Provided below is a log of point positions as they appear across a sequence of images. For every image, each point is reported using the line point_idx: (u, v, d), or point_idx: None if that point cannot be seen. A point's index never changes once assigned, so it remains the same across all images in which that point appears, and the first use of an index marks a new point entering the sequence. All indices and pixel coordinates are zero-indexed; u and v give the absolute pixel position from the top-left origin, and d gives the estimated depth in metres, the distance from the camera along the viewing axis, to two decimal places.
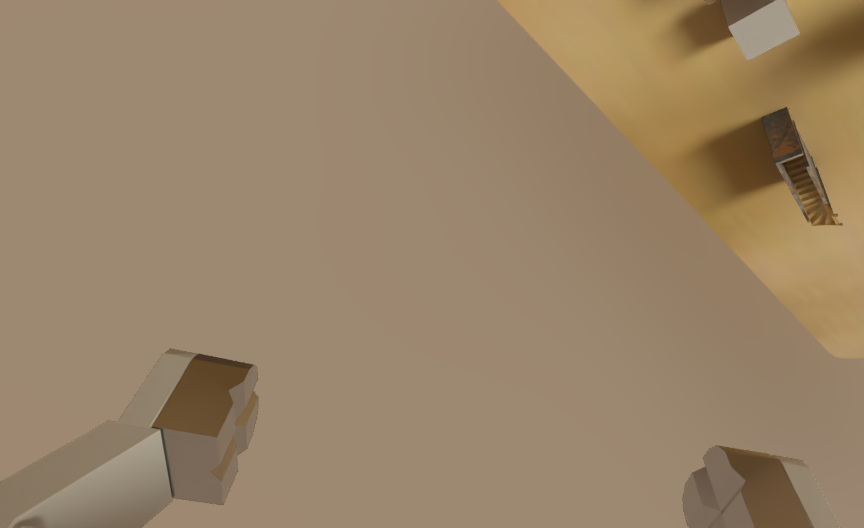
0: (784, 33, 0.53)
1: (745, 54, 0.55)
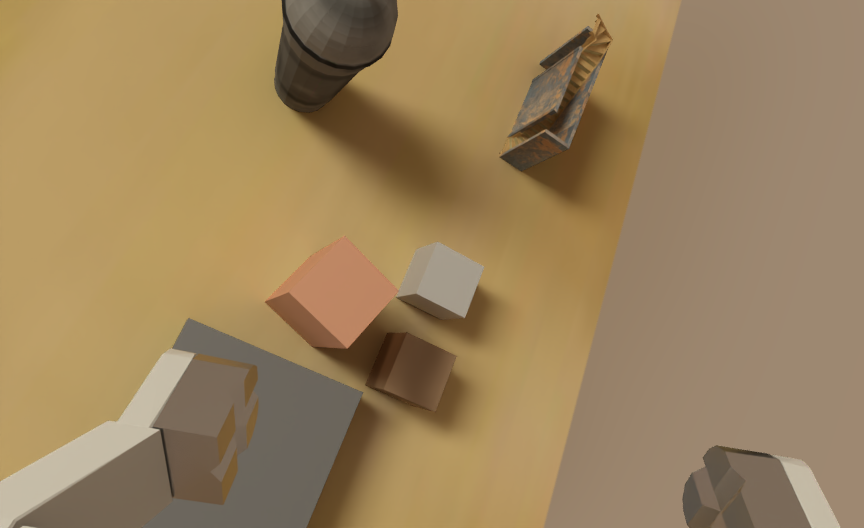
0: (444, 256, 0.46)
1: (479, 275, 0.47)
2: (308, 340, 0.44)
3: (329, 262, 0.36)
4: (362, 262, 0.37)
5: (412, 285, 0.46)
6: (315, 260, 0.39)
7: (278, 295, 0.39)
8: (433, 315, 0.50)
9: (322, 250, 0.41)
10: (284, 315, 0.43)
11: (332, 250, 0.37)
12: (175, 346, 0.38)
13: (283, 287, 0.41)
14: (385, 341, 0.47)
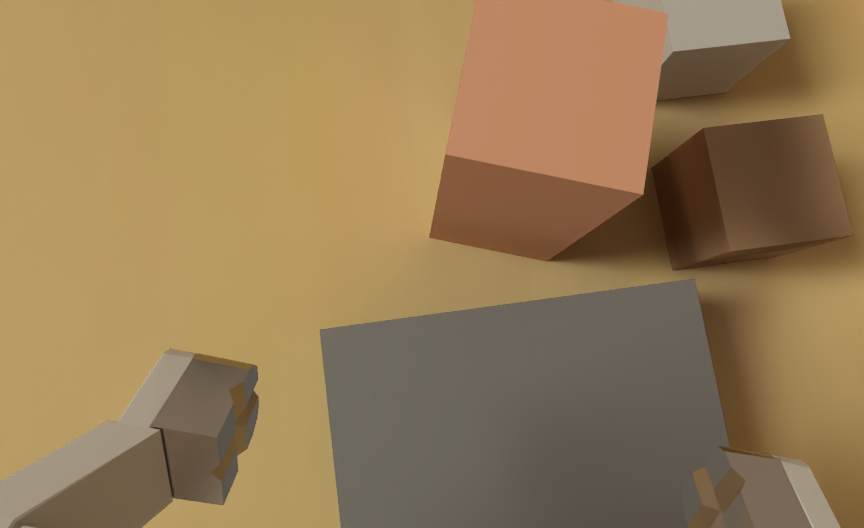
0: None
1: None
2: (536, 253, 0.23)
3: (486, 45, 0.15)
4: (553, 4, 0.15)
5: None
6: None
7: None
8: (708, 93, 0.26)
9: None
10: (472, 235, 0.22)
11: (477, 18, 0.15)
12: (328, 388, 0.19)
13: None
14: (659, 181, 0.25)
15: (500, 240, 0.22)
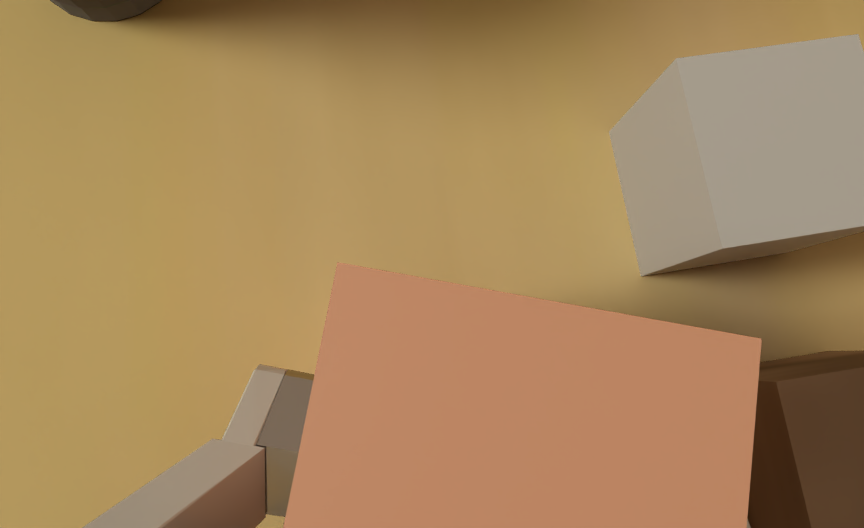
0: (725, 87, 0.13)
1: (862, 65, 0.14)
2: None
3: (345, 440, 0.06)
4: (502, 327, 0.07)
5: (679, 227, 0.15)
6: None
7: None
8: (761, 256, 0.17)
9: None
10: None
11: (324, 372, 0.07)
12: None
13: None
14: None
15: None
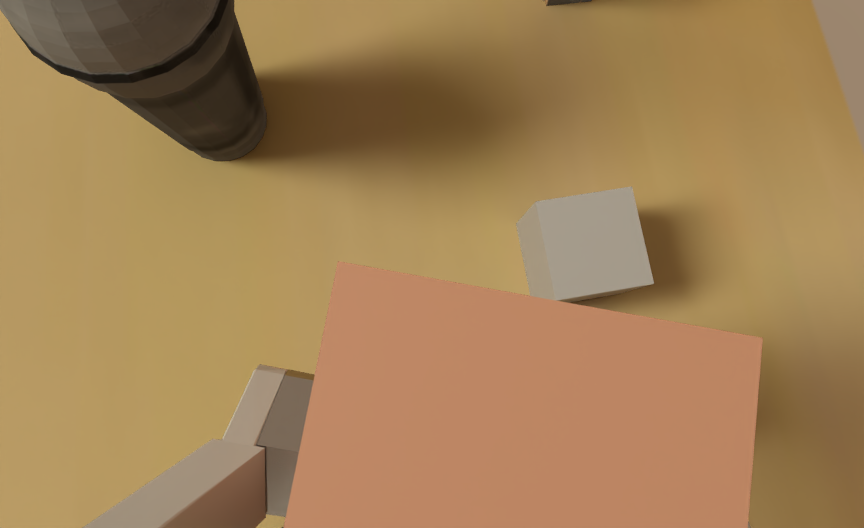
0: (560, 216, 0.26)
1: (633, 203, 0.26)
2: None
3: (345, 439, 0.06)
4: (503, 327, 0.07)
5: (543, 286, 0.27)
6: None
7: None
8: (602, 296, 0.30)
9: None
10: None
11: (325, 372, 0.07)
12: None
13: None
14: None
15: None
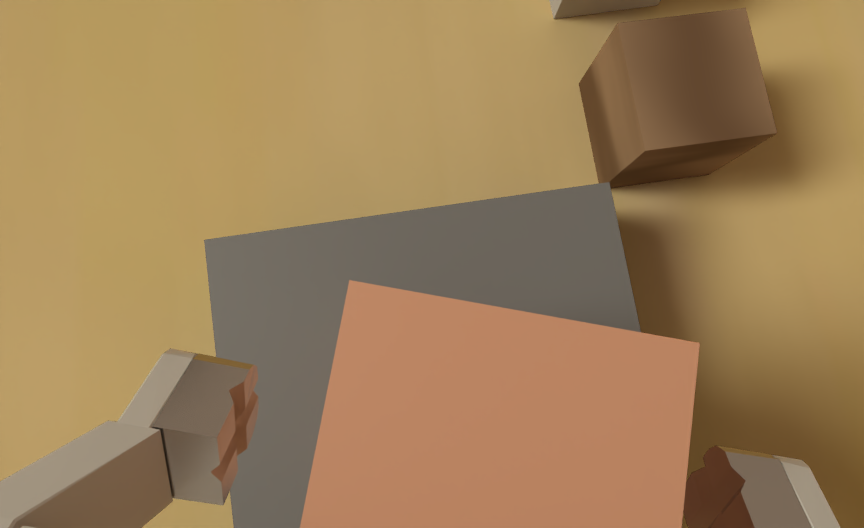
0: None
1: None
2: None
3: (355, 426, 0.08)
4: (485, 334, 0.08)
5: None
6: None
7: None
8: (639, 5, 0.25)
9: None
10: None
11: (339, 371, 0.08)
12: (213, 301, 0.18)
13: None
14: (585, 96, 0.23)
15: None
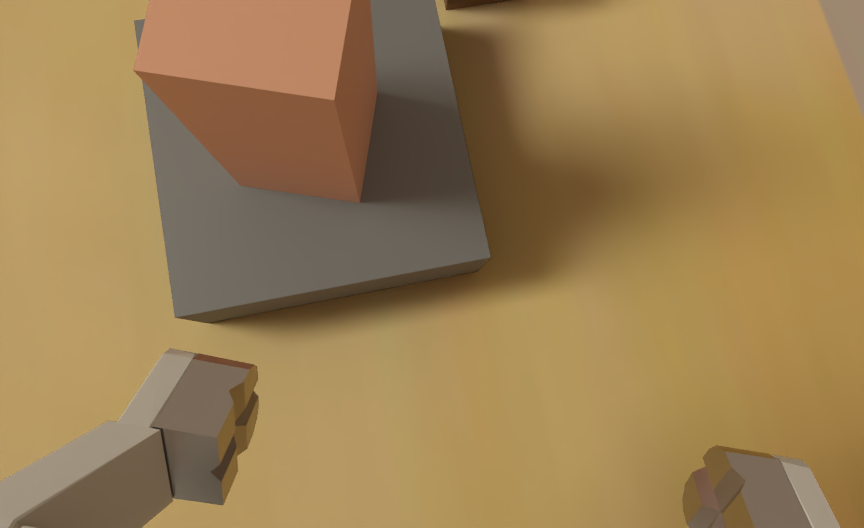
0: None
1: None
2: (340, 193, 0.23)
3: None
4: None
5: None
6: None
7: None
8: None
9: None
10: (268, 177, 0.23)
11: None
12: None
13: None
14: None
15: (296, 180, 0.22)
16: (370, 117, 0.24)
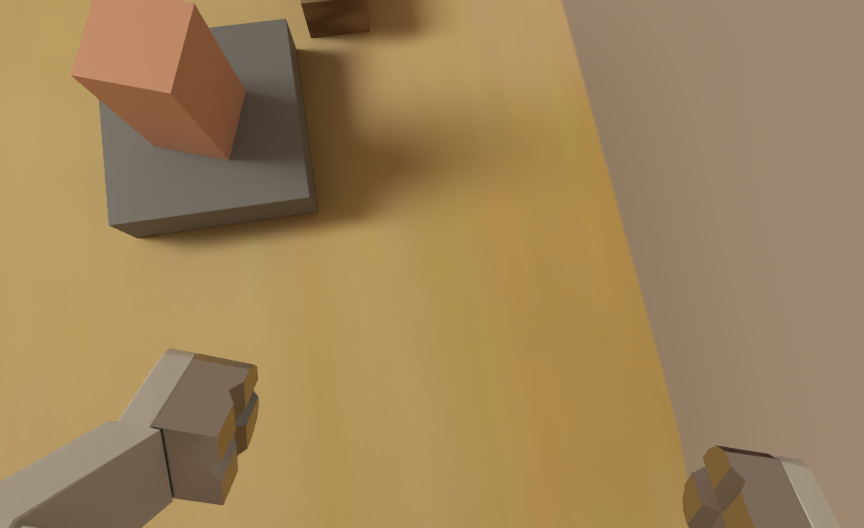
0: None
1: None
2: (213, 152, 0.38)
3: (96, 21, 0.30)
4: None
5: None
6: None
7: None
8: None
9: None
10: (167, 140, 0.37)
11: (92, 7, 0.30)
12: None
13: None
14: None
15: (183, 142, 0.37)
16: (235, 106, 0.39)
